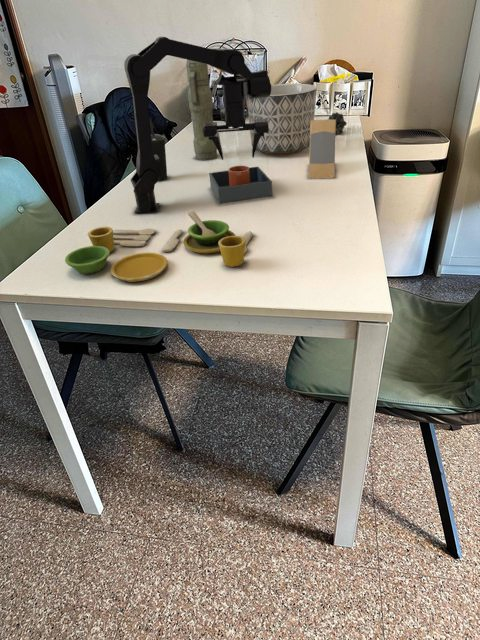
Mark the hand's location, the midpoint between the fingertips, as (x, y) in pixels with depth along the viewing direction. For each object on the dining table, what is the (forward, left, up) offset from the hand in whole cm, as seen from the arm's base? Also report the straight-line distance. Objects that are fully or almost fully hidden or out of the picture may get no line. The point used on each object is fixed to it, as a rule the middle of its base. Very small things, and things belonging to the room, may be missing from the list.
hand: (237, 158), depth 134 cm
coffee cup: (0, 0, -10) cm, 10 cm away
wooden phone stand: (+16, -28, -11) cm, 34 cm away
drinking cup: (+20, +28, -11) cm, 36 cm away
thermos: (+44, +13, -11) cm, 47 cm away
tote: (0, 0, -11) cm, 11 cm away
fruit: (+70, -43, -11) cm, 83 cm away
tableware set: (-41, +19, -11) cm, 46 cm away
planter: (+46, -17, -11) cm, 50 cm away
